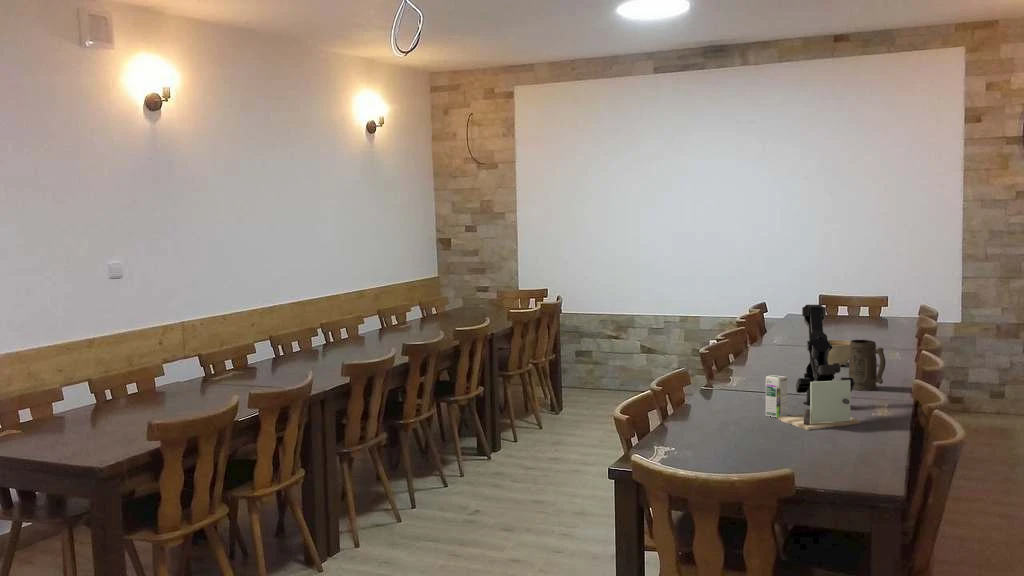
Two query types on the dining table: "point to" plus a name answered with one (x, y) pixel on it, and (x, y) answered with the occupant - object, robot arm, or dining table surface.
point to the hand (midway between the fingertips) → (829, 405)
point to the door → (829, 401)
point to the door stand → (805, 423)
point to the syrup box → (776, 396)
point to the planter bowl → (839, 352)
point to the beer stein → (865, 364)
